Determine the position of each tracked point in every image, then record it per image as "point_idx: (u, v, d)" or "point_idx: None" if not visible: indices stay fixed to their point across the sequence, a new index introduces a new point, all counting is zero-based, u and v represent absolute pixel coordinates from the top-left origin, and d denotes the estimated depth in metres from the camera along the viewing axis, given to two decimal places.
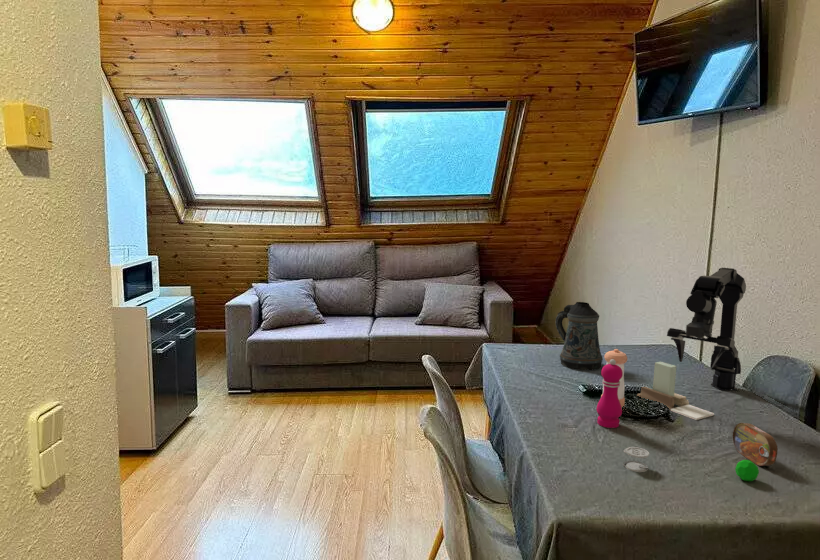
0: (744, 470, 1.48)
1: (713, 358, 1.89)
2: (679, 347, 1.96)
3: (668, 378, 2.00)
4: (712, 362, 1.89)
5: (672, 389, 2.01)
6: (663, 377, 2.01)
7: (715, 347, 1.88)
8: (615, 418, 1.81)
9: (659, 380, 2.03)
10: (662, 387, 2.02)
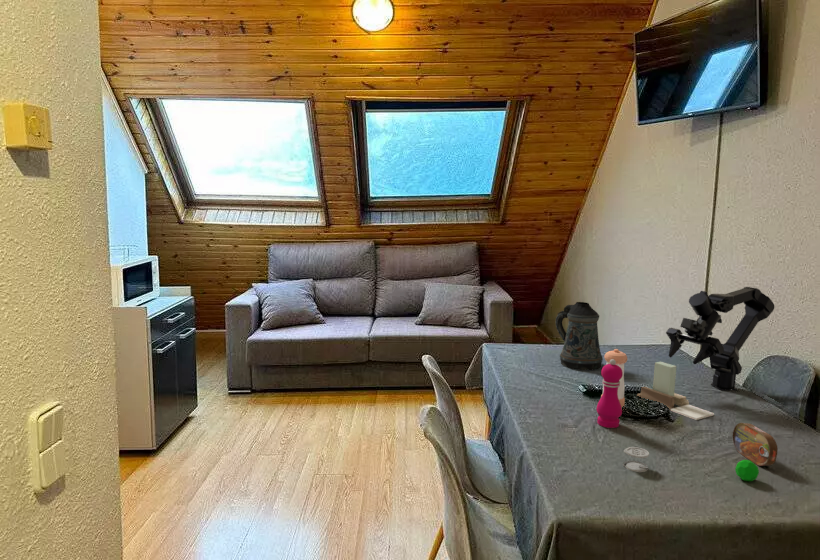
0: (744, 470, 1.48)
1: (698, 354, 2.02)
2: (672, 343, 2.11)
3: (668, 378, 2.00)
4: (696, 358, 2.02)
5: (672, 389, 2.01)
6: (663, 377, 2.01)
7: (703, 344, 2.02)
8: (615, 418, 1.81)
9: (659, 380, 2.03)
10: (662, 387, 2.02)
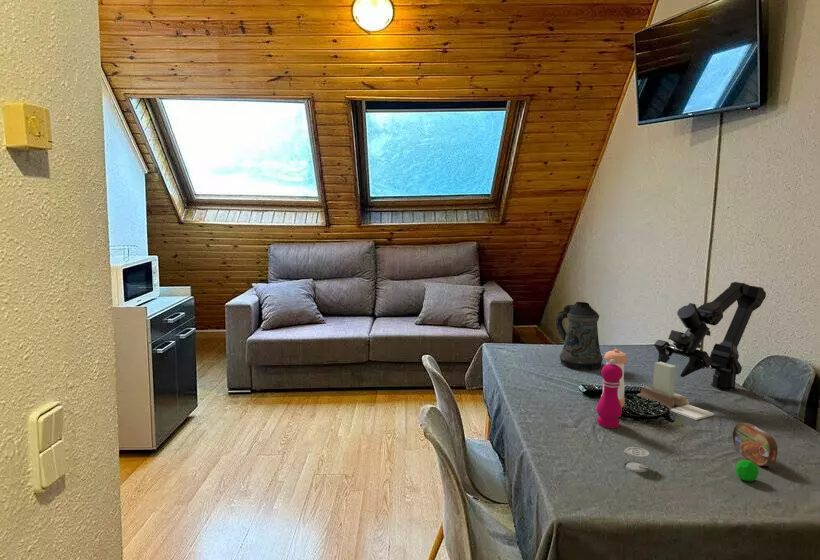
0: (744, 470, 1.48)
1: (686, 367, 2.00)
2: (660, 356, 2.09)
3: (668, 378, 2.00)
4: (683, 371, 1.99)
5: (672, 389, 2.01)
6: (663, 377, 2.01)
7: (690, 357, 1.99)
8: (615, 418, 1.81)
9: (659, 380, 2.03)
10: (662, 387, 2.02)
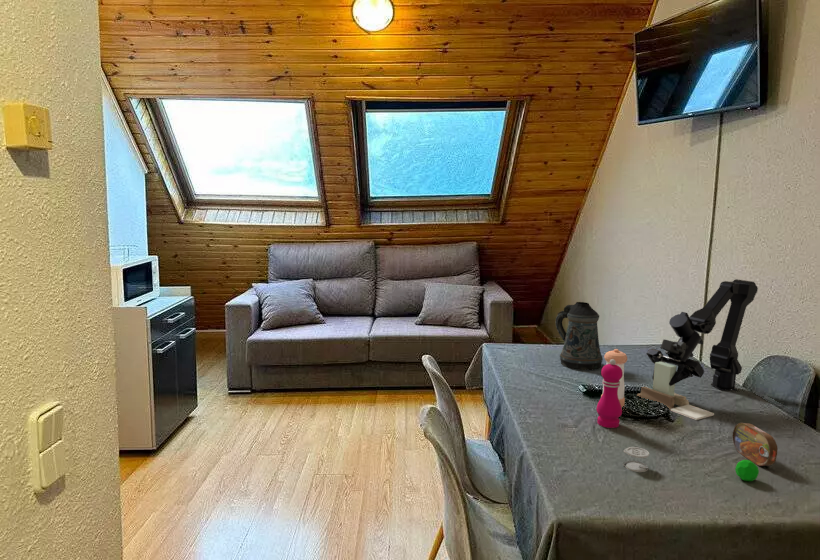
0: (744, 470, 1.48)
1: (674, 376, 1.99)
2: None
3: (668, 378, 2.00)
4: (672, 379, 1.99)
5: (672, 389, 2.01)
6: (663, 377, 2.01)
7: (679, 365, 1.99)
8: (615, 418, 1.81)
9: (659, 380, 2.03)
10: (662, 387, 2.02)
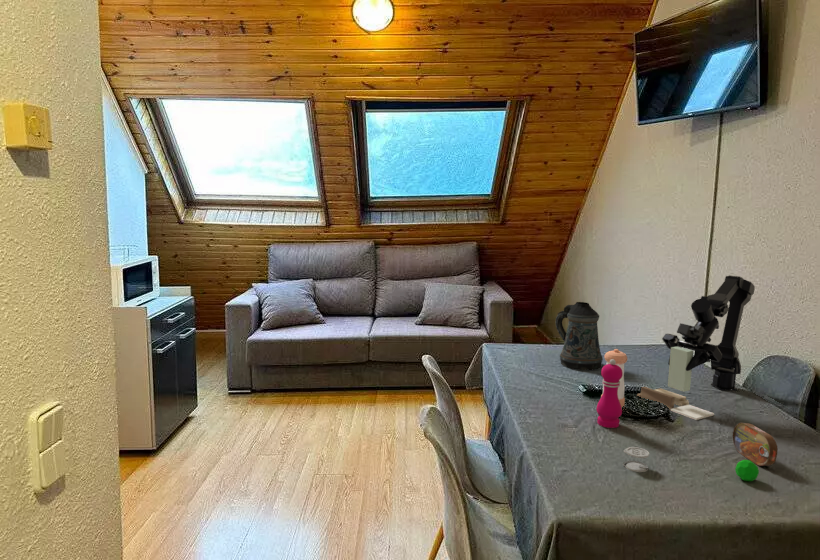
0: (744, 470, 1.48)
1: (691, 361, 1.94)
2: None
3: (684, 363, 1.94)
4: (689, 364, 1.94)
5: (689, 374, 1.95)
6: (680, 362, 1.95)
7: (696, 350, 1.93)
8: (615, 418, 1.81)
9: (675, 365, 1.97)
10: (679, 372, 1.96)
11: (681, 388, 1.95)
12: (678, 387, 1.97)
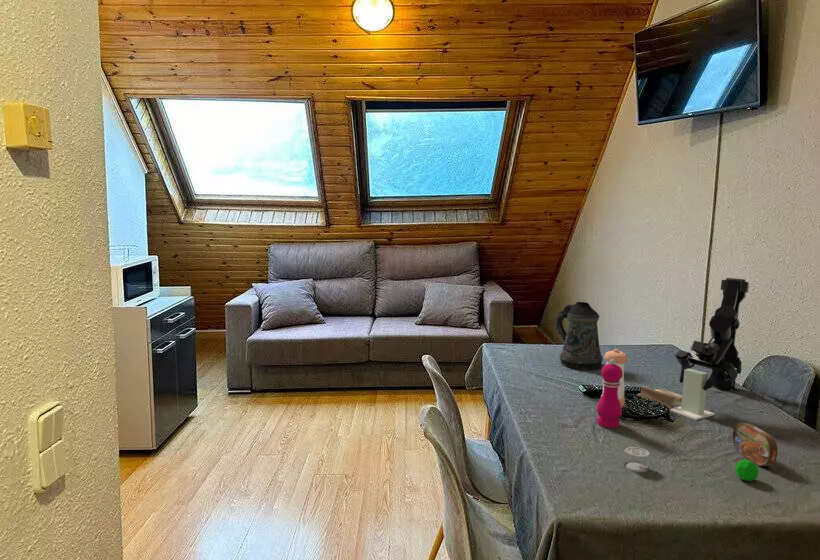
0: (744, 470, 1.48)
1: (708, 380, 1.89)
2: (683, 368, 1.97)
3: (699, 386, 1.90)
4: (706, 383, 1.89)
5: (703, 397, 1.91)
6: (694, 385, 1.92)
7: (713, 369, 1.89)
8: (615, 418, 1.81)
9: (689, 388, 1.93)
10: (693, 395, 1.92)
11: (696, 411, 1.92)
12: (692, 410, 1.93)
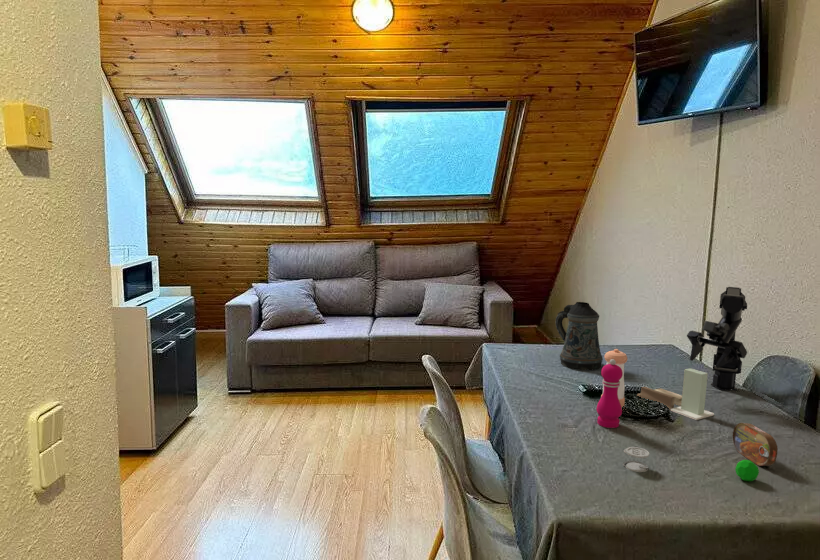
0: (744, 470, 1.48)
1: (721, 358, 1.99)
2: (694, 346, 2.08)
3: (699, 386, 1.90)
4: (719, 361, 1.99)
5: (703, 397, 1.91)
6: (694, 385, 1.92)
7: (726, 347, 1.98)
8: (615, 418, 1.81)
9: (689, 388, 1.93)
10: (693, 395, 1.92)
11: (696, 411, 1.92)
12: (692, 410, 1.93)
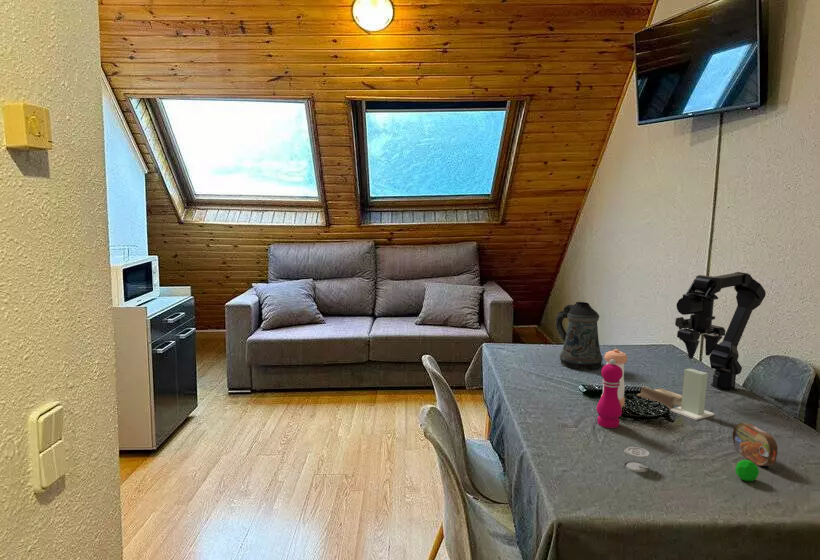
0: (744, 470, 1.48)
1: None
2: None
3: (699, 386, 1.90)
4: None
5: (703, 397, 1.91)
6: (694, 385, 1.92)
7: None
8: (615, 418, 1.81)
9: (689, 388, 1.93)
10: (693, 395, 1.92)
11: (696, 411, 1.92)
12: (692, 410, 1.93)
